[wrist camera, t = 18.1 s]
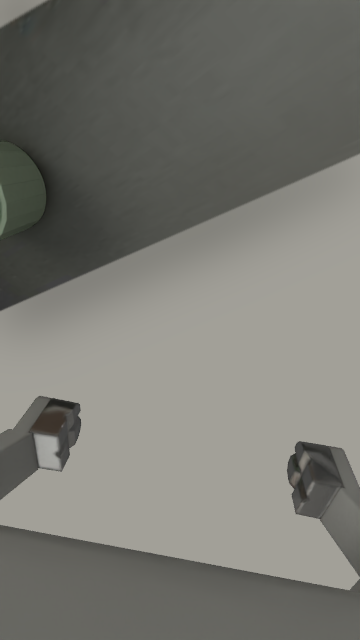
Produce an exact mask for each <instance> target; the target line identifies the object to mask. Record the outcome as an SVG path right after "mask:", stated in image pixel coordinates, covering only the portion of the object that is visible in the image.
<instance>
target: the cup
mask: <svg viewBox="0 0 360 640" xmlns="http://www.w3.org/2000/svg"><path fill="white" fill-rule="evenodd" d="M45 206H46V189H45V184H44V181H43V178H42V176H41V173H40V172H39V170H38V168H37V166H36V165H35V163H34V162H33V161H32V159H31V158H30V157H29V156H28V155H27V154H26V153H25V152H24V151H23V150H21V149H20V148H19V147H17V146H15V145H14V144H12V143H10V142H8V141H5V140H1V139H0V240H3V239H5V238H7V237H10V236H12V235H14V234H17V233H19V232H21V231H24V230H26V229H28V228H31V227H32V226H34V225H35V224H36V223H37V222H38V221H39V220H40V218H41V217H42V215H43V213H44V210H45Z"/></svg>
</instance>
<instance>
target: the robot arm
mask: <svg viewBox="0 0 360 640" xmlns="http://www.w3.org/2000/svg"><path fill="white" fill-rule="evenodd" d="M79 412H80V404H78V403H74V402H69V401H64V400H58V399H54V398H48V397H43V396H39V397H37V398H36V399H35V400H34V402H33V403H32V404H31V406H30V407H29V409H28V410H27V411H26V413H25V414H24V415H23V417H22V418H21V419H20V421H19V422H18V424H17V425H16V426H15V428H14V429H13V430H12V429H8V430H6V431H4V432H3V433H1V434H0V500H1V499H2V498H3V497H4V496H6V495H7V494H8V493H9V492H10V491H12V490H13V489H14V488H16V487H17V486H18V485H19V484H20V483H22V482H23V481H24V480H25V479H27V478H28V477H29V476H30V475H32V474H33V473H34V472H35V471H36V470H38V468H42V469H48V470H56V471H62V470H63V468H64V466H65V464H66V462H67V459H68V458H69V455H70V453H69V448H71V447H72V446H73V445H75V443H76V441H77V439H78V436H79V432H80V427H81V419H80V418H79V417H78V414H79ZM295 452H296V453H295V454H293V455H292V456H291V457H290V459H289V462H288V469H287V472H288V480H289V483H290V484H291V486H292V487H293V488H294V492H293V493H292V499H293V503H294V508H295V512H296V514H299V515H304V516H309V517H314V518H318V519H321V520H320V521H321V522H322V524H323V525H324V526H325V528H326V529H327V531H328V532H329V534H330V535H331V536H332V538H333V539H334V541H335V542H336V544H337V545H338V546H339V548H340V549H341V551H342V552H343V554H344V555H345V556H346V558H347V559H348V561H349V562H350V564H351V565H352V566H353V568H354V569H355V571H356V572H357V574H358V575H359V576H360V487H359V485H358V483H357V480H356V478H355V476H354V474H353V471H352V468H351V466H350V464H349V461H348V459H347V457H346V454H345V452H344V450H343V449H342V448H336V447H331V446H325V445H319V444H313V443H307V442H298V443H297V444H296V446H295ZM0 640H360V579H359V580H358V581H357V583H356V584H355V585H354V586H353V587H352V588H351V590H350V591H349V590H344V589H338V588H333V587H328V586H322V585H317V584H312V583H306V582H301V581H295V580H290V579H285V578H280V577H274V576H269V575H263V574H258V573H253V572H247V571H242V570H237V569H232V568H226V567H221V566H216V565H211V564H205V563H200V562H194V561H189V560H184V559H179V558H173V557H168V556H163V555H157V554H152V553H147V552H141V551H136V550H131V549H125V548H119V547H114V546H109V545H104V544H99V543H93V542H88V541H83V540H77V539H71V538H67V537H61V536H56V535H51V534H45V533H39V532H34V531H29V530H24V529H19V528H13V527H8V526H3V525H0Z"/></svg>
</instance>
